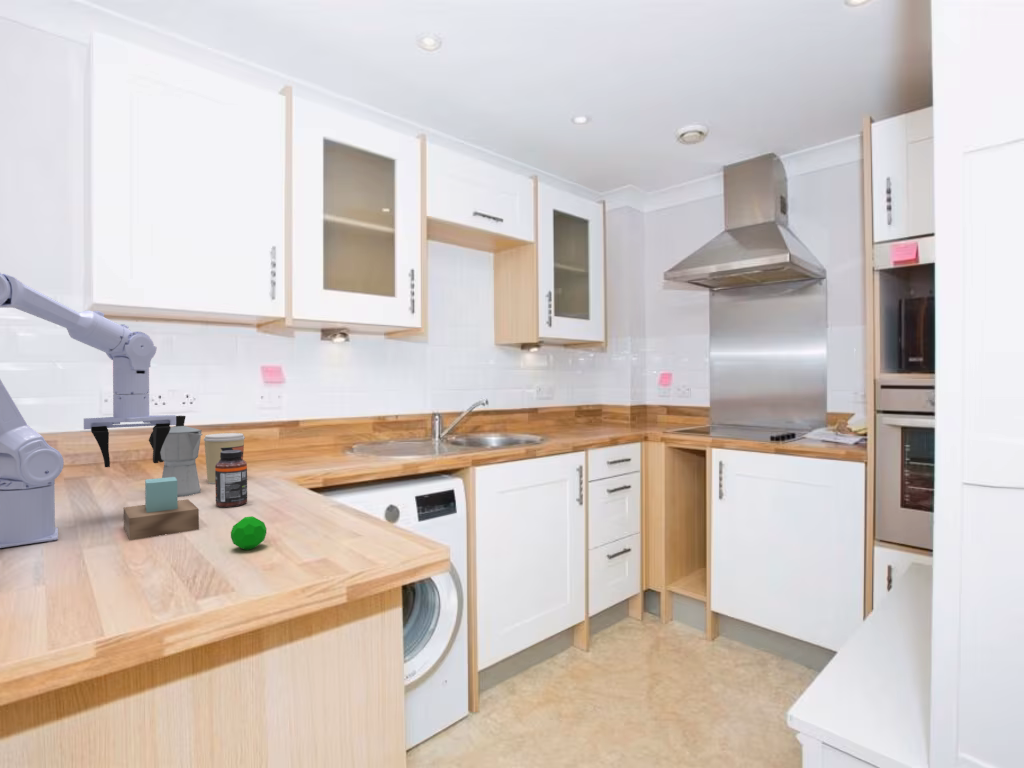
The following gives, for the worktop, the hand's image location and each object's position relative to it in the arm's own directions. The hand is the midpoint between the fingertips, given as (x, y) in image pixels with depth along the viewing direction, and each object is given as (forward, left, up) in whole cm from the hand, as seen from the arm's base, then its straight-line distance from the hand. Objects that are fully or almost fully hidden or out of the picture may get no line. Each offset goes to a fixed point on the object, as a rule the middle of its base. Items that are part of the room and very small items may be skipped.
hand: (132, 464), depth 105 cm
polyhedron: (+12, -36, -10) cm, 39 cm away
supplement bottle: (+17, -2, -10) cm, 20 cm away
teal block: (+3, -14, -6) cm, 16 cm away
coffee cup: (+22, +28, -10) cm, 37 cm away
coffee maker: (+10, +19, -10) cm, 24 cm away
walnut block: (+3, -14, -10) cm, 18 cm away
